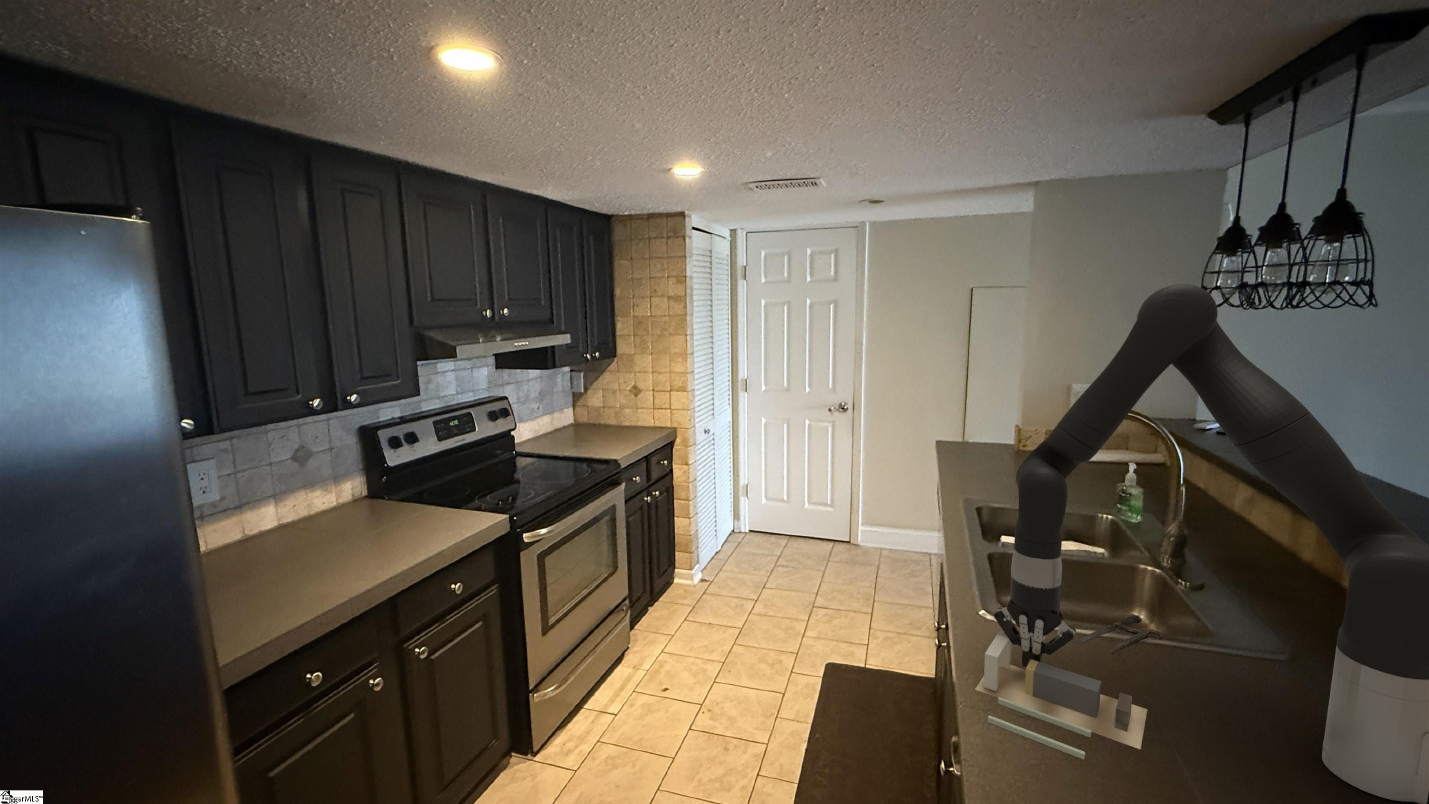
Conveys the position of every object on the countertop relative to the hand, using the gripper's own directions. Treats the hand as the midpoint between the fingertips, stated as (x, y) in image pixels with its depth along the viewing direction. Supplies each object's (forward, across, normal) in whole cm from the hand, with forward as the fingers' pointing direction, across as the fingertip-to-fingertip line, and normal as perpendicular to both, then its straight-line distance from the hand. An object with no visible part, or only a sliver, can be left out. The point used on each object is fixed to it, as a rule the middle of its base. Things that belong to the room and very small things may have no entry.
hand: (1031, 669), depth 104 cm
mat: (+2, -4, +13) cm, 14 cm away
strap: (+2, +4, +4) cm, 6 cm away
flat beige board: (+2, -5, +4) cm, 7 cm away
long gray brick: (+1, -6, +4) cm, 7 cm away
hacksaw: (+2, -11, -22) cm, 25 cm away
